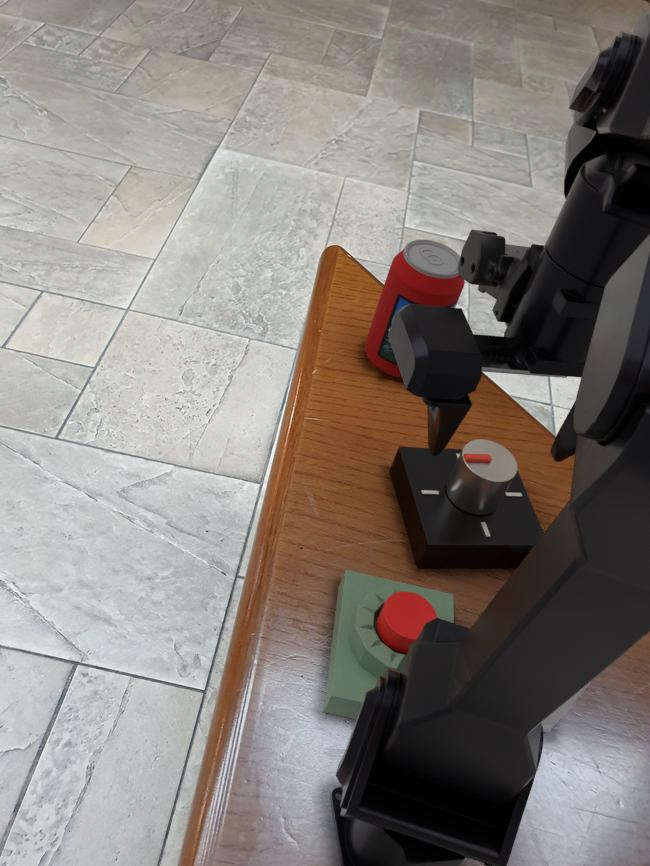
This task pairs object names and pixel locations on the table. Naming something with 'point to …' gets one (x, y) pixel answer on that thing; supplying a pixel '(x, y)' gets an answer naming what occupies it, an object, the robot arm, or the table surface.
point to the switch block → (366, 638)
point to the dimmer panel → (459, 516)
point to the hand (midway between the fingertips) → (494, 454)
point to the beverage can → (412, 293)
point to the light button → (403, 619)
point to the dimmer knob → (481, 477)
